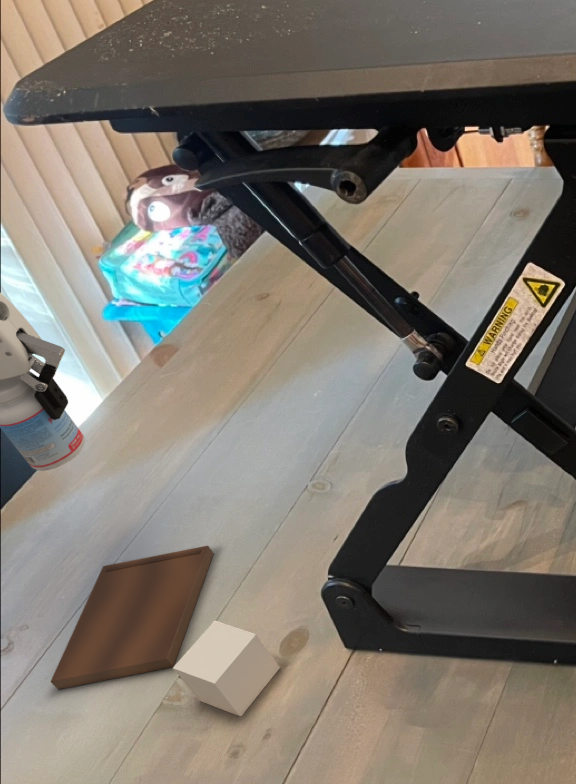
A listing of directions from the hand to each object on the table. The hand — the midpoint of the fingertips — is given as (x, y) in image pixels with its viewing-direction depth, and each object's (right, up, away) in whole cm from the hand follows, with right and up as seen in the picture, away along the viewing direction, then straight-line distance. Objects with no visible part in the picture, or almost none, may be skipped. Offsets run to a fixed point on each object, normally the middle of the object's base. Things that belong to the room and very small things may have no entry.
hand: (30, 416), depth 119 cm
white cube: (+27, -28, -7) cm, 39 cm away
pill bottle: (+1, -5, +4) cm, 6 cm away
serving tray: (+11, -23, +3) cm, 26 cm away
